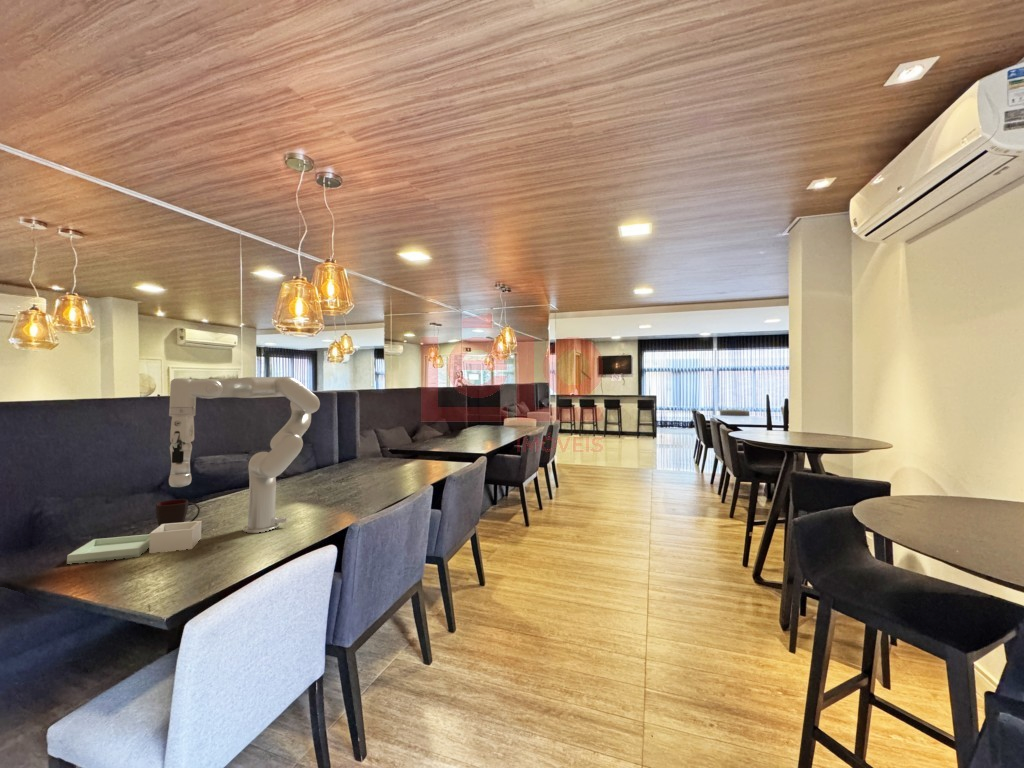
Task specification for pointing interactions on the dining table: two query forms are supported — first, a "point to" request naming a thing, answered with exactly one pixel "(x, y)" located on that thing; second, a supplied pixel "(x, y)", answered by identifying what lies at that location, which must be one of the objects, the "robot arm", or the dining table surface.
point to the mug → (173, 511)
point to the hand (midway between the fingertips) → (180, 460)
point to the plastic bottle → (181, 468)
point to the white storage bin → (175, 536)
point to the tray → (110, 549)
